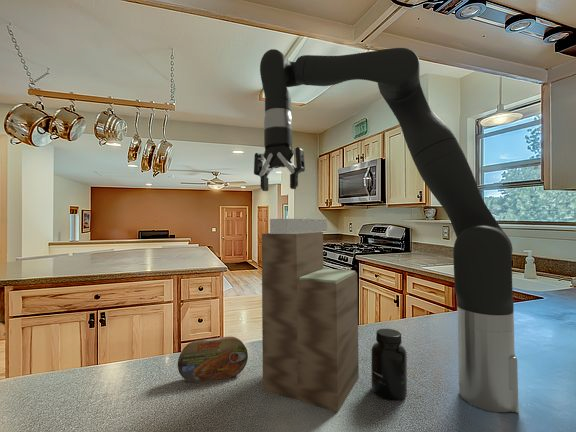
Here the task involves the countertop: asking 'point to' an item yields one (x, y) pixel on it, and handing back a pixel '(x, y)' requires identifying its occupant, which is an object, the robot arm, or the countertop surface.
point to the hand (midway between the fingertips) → (278, 189)
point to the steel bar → (297, 226)
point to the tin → (212, 359)
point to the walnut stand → (307, 322)
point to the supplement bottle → (389, 365)
